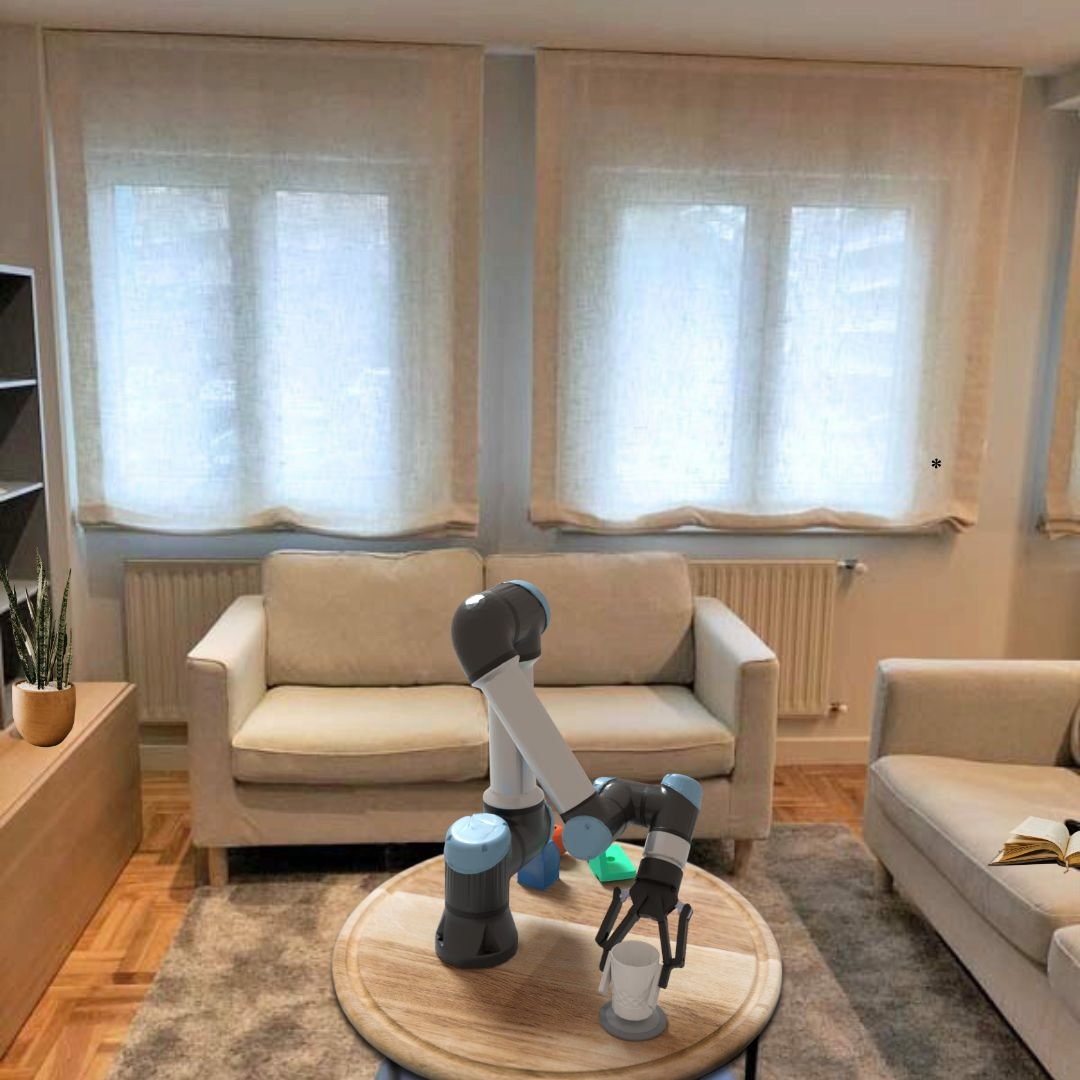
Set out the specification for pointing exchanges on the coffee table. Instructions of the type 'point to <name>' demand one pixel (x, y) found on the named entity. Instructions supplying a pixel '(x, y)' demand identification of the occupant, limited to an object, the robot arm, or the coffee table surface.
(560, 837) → the clementine
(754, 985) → the coffee table surface
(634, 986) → the white cup
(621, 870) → the camera mount
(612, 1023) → the coaster
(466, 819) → the robot arm
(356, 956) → the coffee table surface
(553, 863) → the perfume bottle
